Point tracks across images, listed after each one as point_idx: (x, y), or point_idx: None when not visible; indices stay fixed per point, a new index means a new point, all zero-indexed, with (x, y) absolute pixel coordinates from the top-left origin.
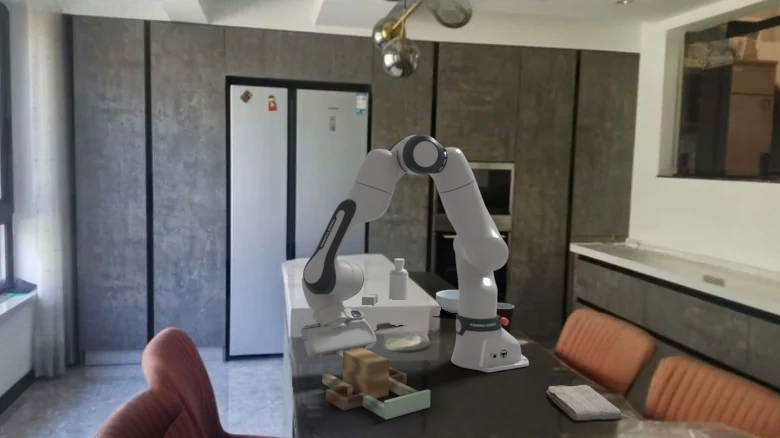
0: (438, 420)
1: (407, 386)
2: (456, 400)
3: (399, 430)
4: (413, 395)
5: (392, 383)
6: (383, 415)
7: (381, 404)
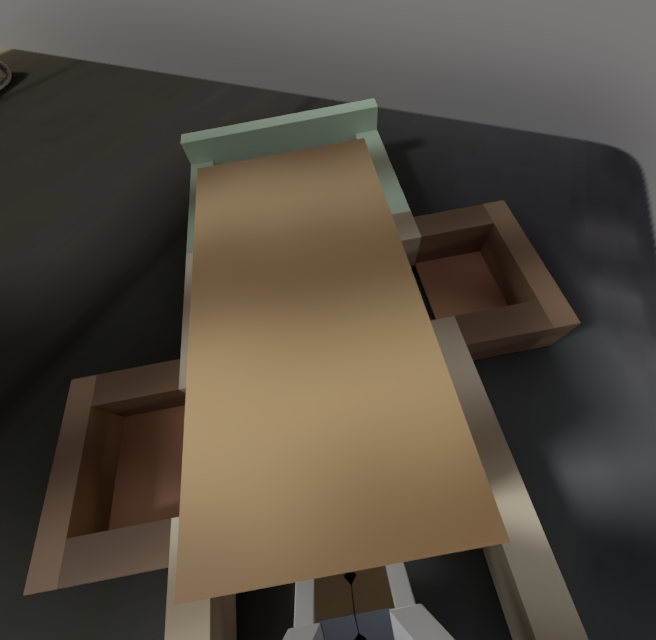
0: None
1: (191, 243)
2: (103, 202)
3: None
4: (258, 121)
5: None
6: None
7: (373, 145)
